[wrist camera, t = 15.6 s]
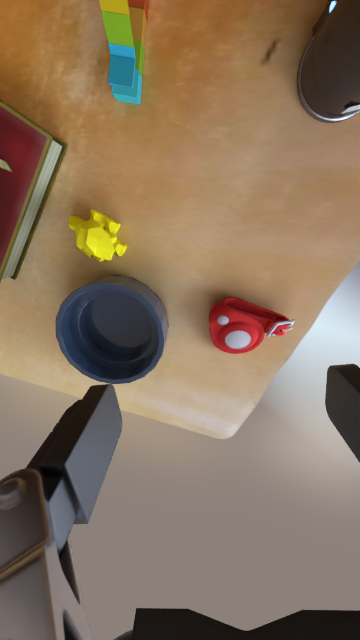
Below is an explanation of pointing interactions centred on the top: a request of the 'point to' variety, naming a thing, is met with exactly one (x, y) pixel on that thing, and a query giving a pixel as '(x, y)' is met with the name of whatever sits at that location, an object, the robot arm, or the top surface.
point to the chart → (126, 46)
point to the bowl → (112, 329)
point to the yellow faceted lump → (97, 236)
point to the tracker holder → (243, 325)
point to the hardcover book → (23, 183)
